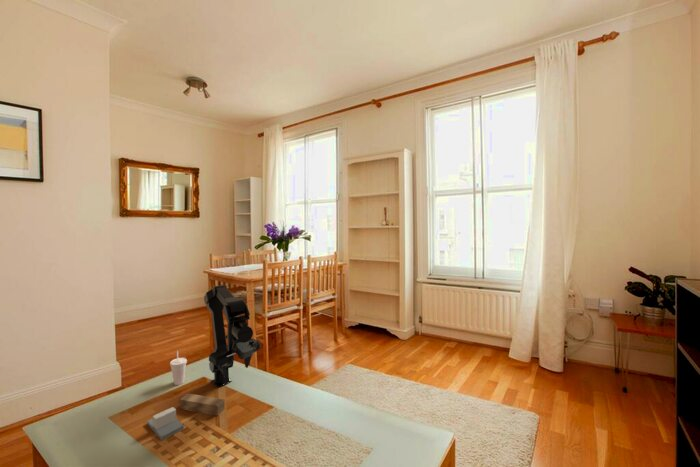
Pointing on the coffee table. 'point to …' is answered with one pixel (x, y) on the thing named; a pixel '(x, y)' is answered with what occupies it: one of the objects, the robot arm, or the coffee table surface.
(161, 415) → the stand
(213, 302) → the robot arm
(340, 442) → the coffee table surface
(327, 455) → the coffee table surface
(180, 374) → the smoothie
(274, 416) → the coffee table surface
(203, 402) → the walnut bar
